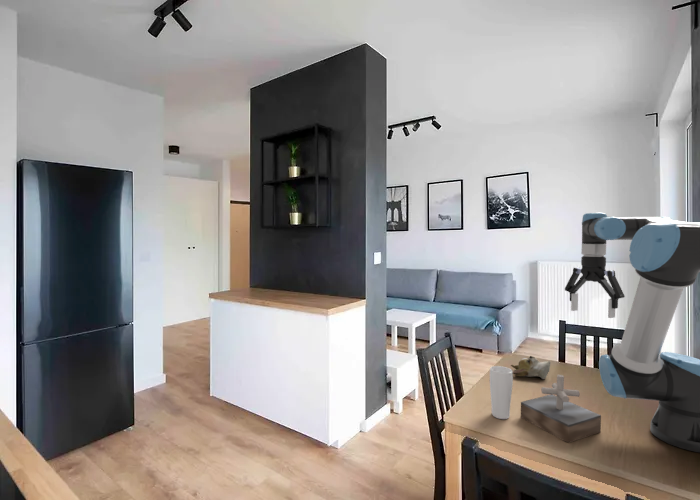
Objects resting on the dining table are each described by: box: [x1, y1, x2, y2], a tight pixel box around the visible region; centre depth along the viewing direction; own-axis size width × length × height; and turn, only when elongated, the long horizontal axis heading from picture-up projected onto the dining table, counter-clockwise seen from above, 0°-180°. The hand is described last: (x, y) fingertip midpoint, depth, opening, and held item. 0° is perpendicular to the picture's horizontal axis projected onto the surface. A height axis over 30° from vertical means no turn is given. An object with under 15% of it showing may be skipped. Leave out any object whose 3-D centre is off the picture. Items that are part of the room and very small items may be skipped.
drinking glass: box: [489, 365, 514, 420], centre depth 120 cm, size 7×7×15 cm
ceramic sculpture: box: [510, 355, 551, 380], centre depth 154 cm, size 11×9×15 cm
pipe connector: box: [540, 374, 580, 410], centre depth 114 cm, size 10×10×10 cm
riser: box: [520, 394, 602, 443], centre depth 115 cm, size 16×14×5 cm
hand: (592, 313), depth 138 cm, fingers open, 13 cm apart
